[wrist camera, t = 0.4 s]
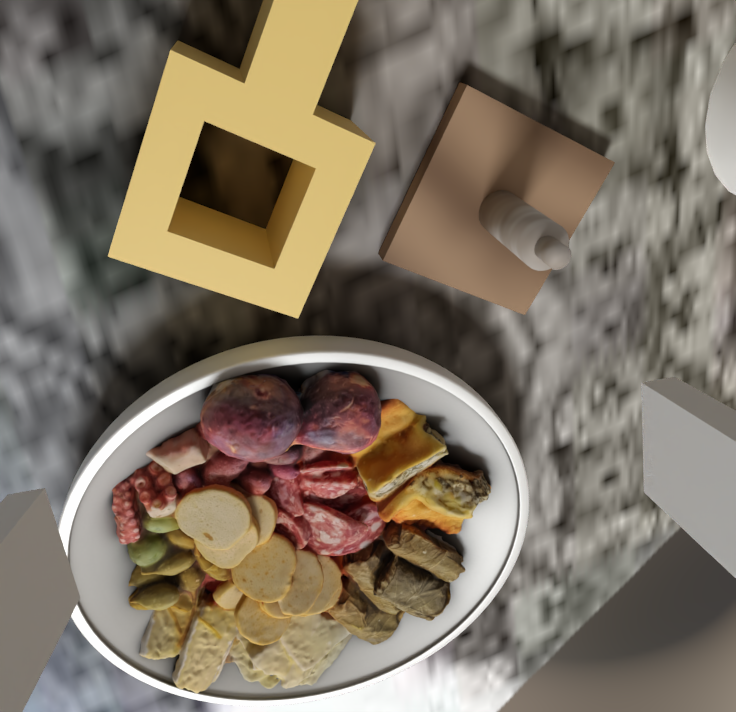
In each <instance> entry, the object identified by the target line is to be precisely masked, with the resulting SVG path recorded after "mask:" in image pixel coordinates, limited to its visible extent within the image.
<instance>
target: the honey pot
mask: <svg viewBox="0 0 736 712" xmlns="http://www.w3.org/2000/svg"><path fill="white" fill-rule="evenodd" d="M705 129H706V145H707V154H708V156H709V159H710V162H711V165H712V167H713V170H714V173H715V175H716V176H717V178H718V179H719V180H720V181H721V182H722V184H723V185H724V186H725V187H726V188H727V190H728V191H729V192H731V193H733V194H735V195H736V42H735V44H734V45H733V47H732V48H731V50H730V52H729V53H728V55H727V56H726V58H725V60H724V61H723V63H722V66H721V68H720V71H719V74H718V76H717V79H716V81H715V84H714V86H713V89H712V92H711V94H710V100H709V106H708V112H707V117H706V123H705Z"/></svg>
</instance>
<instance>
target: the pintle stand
mask: <svg viewBox="0 0 736 712" xmlns="http://www.w3.org/2000/svg"><path fill="white" fill-rule="evenodd" d="M614 163H615V162H613V161H611V160H609V159H607V158H605V157H603V156H601V155H599V154H598V153H596V152H594V151H592V150H590V149H588V148H586V147H584V146H582V145H580V144H579V143H577V142H575V141H573V140H571V139H569V138H567V137H565V136H563V135H561V134H560V133H558V132H556V131H554V130H552V129H550V128H548V127H546V126H544V125H542V124H541V123H539V122H537V121H535V120H533V119H531V118H529V117H527V116H525V115H523V114H521V113H520V112H518V111H516V110H514V109H512V108H510V107H508V106H506V105H504V104H502V103H501V102H499V101H497V100H495V99H493V98H491V97H489V96H487V95H485V94H483V93H482V92H480V91H478V90H476V89H474V88H472V87H470V86H468V85H466V84H463V83H460V82H459V84H458V86H457V89H456V91H455V93H454V95H453V97H452V99H451V101H450V103H449V105H448V108H447V110H446V112H445V114H444V116H443V118H442V120H441V122H440V124H439V126H438V129H437V131H436V133H435V135H434V137H433V139H432V141H431V143H430V145H429V148H428V150H427V152H426V154H425V156H424V158H423V160H422V162H421V164H420V166H419V169H418V171H417V173H416V175H415V177H414V179H413V181H412V183H411V185H410V188H409V190H408V192H407V194H406V196H405V198H404V200H403V202H402V204H401V207H400V209H399V211H398V213H397V215H396V217H395V219H394V221H393V223H392V225H391V228H390V230H389V232H388V234H387V236H386V238H385V240H384V242H383V244H382V247H381V249H380V251H379V253H378V254H379V255H380V257H381V258H382V260H383V261H385V262H388V263H390V264H393V265H396V266H398V267H401V268H403V269H406V270H409V271H411V272H414V273H417V274H419V275H422V276H424V277H427V278H430V279H432V280H435V281H437V282H440V283H443V284H445V285H448V286H450V287H453V288H456V289H458V290H461V291H464V292H466V293H469V294H471V295H474V296H477V297H479V298H482V299H484V300H487V301H490V302H492V303H495V304H498V305H500V306H503V307H505V308H508V309H511V310H513V311H516V312H518V313H521V314H524V315H525V314H526V312H527V311H528V309H529V307H530V305H531V304H532V302H533V300H534V299H535V297H536V295H537V294H538V292H539V290H540V289H541V287H542V285H543V283H544V282H545V280H546V278H547V277H548V275H549V273H550V272H551V270H552V269H554V270H559V269H562V268H564V267H565V266H566V265H567V264H568V263H569V261H570V259H571V251H570V249H569V240H570V238H571V236H572V234H573V233H574V231H575V229H576V228H577V226H578V224H579V223H580V221H581V219H582V218H583V216H584V214H585V212H586V211H587V209H588V207H589V206H590V204H591V202H592V201H593V199H594V197H595V196H596V194H597V192H598V190H599V189H600V187H601V185H602V184H603V182H604V180H605V179H606V177H607V175H608V174H609V172H610V170H611V168H612V167H613V165H614Z"/></svg>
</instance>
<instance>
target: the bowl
mask: <svg viewBox="0 0 736 712" xmlns="http://www.w3.org/2000/svg"><path fill="white" fill-rule="evenodd" d="M529 503H530V502H529V486H528V479H527V474H526V469H525V466H524V463H523V459H522V457H521V454H520V452H519V449H518V447H517V445H516V443H515V441H514V439H513V438H512V436H511V434H510V433H509V431H508V430H507V428H506V427H505V425H504V424H503V422H502V421H501V419H500V418H499V417H498V415H497V414H496V413H495V411H494V410H493V409H492V408H491V407H490V405H489V404H488V403H487V402H486V401H485V400H484V399H483V398H482V397H481V396H480V395H479V394H478V393H477V392H476V391H475V390H474V389H473V388H471V387H470V386H469V385H468V384H467V383H465V382H464V381H463V380H462V379H460V378H459V377H457V376H456V375H454V374H453V373H451V372H450V371H448V370H447V369H445V368H443V367H442V366H440V365H438V364H436V363H435V362H432V361H430V360H428V359H426V358H424V357H422V356H420V355H417V354H415V353H412V352H410V351H407V350H404V349H401V348H398V347H395V346H392V345H388V344H384V343H380V342H376V341H371V340H365V339H359V338H351V337H342V336H295V337H286V338H278V339H272V340H266V341H261V342H256V343H252V344H248V345H244V346H240V347H237V348H234V349H230V350H227V351H224V352H222V353H219V354H216V355H213V356H211V357H208V358H206V359H204V360H201V361H199V362H197V363H195V364H193V365H191V366H189V367H187V368H185V369H183V370H181V371H179V372H177V373H175V374H174V375H172V376H170V377H168V378H167V379H165V380H163V381H162V382H160V383H159V384H157V385H156V386H154V387H153V388H151V389H150V390H149V391H147V392H146V393H145V394H143V395H142V396H141V397H140V398H138V399H137V400H136V401H135V402H134V403H132V404H131V405H130V406H129V407H128V408H127V409H126V410H124V411H123V412H122V413H121V414H120V415H119V416H118V417H117V418H116V419H115V420H114V421H113V422H112V423H111V425H110V426H109V427H108V428H107V429H106V430H105V432H104V433H103V434H102V435H101V436H100V438H99V439H98V440H97V442H96V443H95V444H94V446H93V447H92V448H91V450H90V451H89V453H88V454H87V456H86V458H85V459H84V461H83V462H82V464H81V466H80V468H79V470H78V472H77V474H76V476H75V477H74V479H73V482H72V484H71V487H70V489H69V491H68V494H67V497H66V500H65V503H64V506H63V509H62V513H61V516H60V520H59V524H58V530H59V533H60V536H61V539H62V542H63V546H64V549H65V552H66V555H67V558H68V561H69V564H70V567H71V570H72V573H73V576H74V579H75V582H76V585H77V588H78V592H79V595H80V599H79V601H78V603H77V605H76V607H75V609H74V611H73V613H72V615H71V618H72V619H73V621H74V623H75V624H76V626H77V627H78V629H79V630H80V631H81V633H82V634H83V635H84V637H85V638H86V639H87V640H88V641H89V642H90V644H91V645H92V646H93V647H94V648H95V649H96V650H97V651H98V652H99V653H101V654H102V655H103V656H104V657H105V658H106V659H108V660H109V661H110V662H112V663H113V664H114V665H116V666H117V667H118V668H120V669H121V670H123V671H125V672H126V673H128V674H129V675H131V676H133V677H135V678H137V679H139V680H140V681H143V682H145V683H147V684H149V685H151V686H153V687H156V688H158V689H161V690H164V691H167V692H169V693H172V694H176V695H179V696H183V697H186V698H190V699H195V700H199V701H205V702H210V703H218V704H226V705H238V706H275V705H287V704H296V703H304V702H310V701H316V700H321V699H325V698H330V697H334V696H338V695H342V694H345V693H349V692H352V691H355V690H358V689H361V688H364V687H367V686H370V685H372V684H375V683H378V682H380V681H383V680H385V679H387V678H390V677H392V676H394V675H396V674H398V673H400V672H402V671H404V670H406V669H408V668H410V667H412V666H414V665H415V664H417V663H419V662H421V661H422V660H424V659H426V658H427V657H429V656H430V655H432V654H433V653H435V652H436V651H438V650H439V649H441V648H442V647H443V646H445V645H446V644H448V643H449V642H450V641H451V640H453V639H454V638H455V637H456V636H458V635H459V634H460V633H461V632H462V631H463V630H465V629H466V628H467V627H468V626H469V625H470V624H471V623H472V622H473V621H474V620H475V619H476V618H477V617H478V616H479V615H480V614H481V613H482V612H483V610H484V609H485V608H486V607H487V606H488V605H489V604H490V602H491V601H492V600H493V598H494V597H495V596H496V594H497V593H498V592H499V590H500V589H501V587H502V586H503V584H504V583H505V581H506V579H507V578H508V576H509V574H510V572H511V570H512V568H513V567H514V564H515V562H516V560H517V558H518V555H519V553H520V550H521V547H522V544H523V541H524V538H525V534H526V529H527V524H528V517H529Z"/></svg>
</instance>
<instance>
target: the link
mask: <svg viewBox="0 0 736 712" xmlns="http://www.w3.org/2000/svg"><path fill="white" fill-rule="evenodd" d="M357 2H358V0H263V2H262V5H261V8H260V11H259V14H258V17H257V20H256V22H255V25H254V28H253V31H252V34H251V37H250V40H249V43H248V46H247V48H246V51H245V54H244V57H243V60H242V63H241V66H240V69H239V68H237V67H234V66H232V65H230V64H228V63H226V62H224V61H221V60H219V59H217V58H215V57H213V56H211V55H209V54H206V53H204V52H202V51H200V50H198V49H196V48H193V47H191V46H189V45H187V44H185V43H183V42H180V41H178V40H177V42H176V43H175V44H174V46H173V47H172V48H171V50H170V53H169V56H168V59H167V63H166V66H165V69H164V72H163V76H162V79H161V82H160V86H159V89H158V92H157V96H156V99H155V102H154V105H153V109H152V112H151V115H150V119H149V122H148V125H147V128H146V132H145V135H144V138H143V142H142V145H141V148H140V152H139V155H138V158H137V161H136V165H135V168H134V171H133V175H132V178H131V181H130V185H129V188H128V191H127V194H126V198H125V201H124V204H123V208H122V211H121V214H120V218H119V221H118V224H117V227H116V231H115V234H114V237H113V241H112V244H111V247H110V250H109V254H108V257H111V258H114V259H117V260H120V261H123V262H126V263H129V264H132V265H135V266H138V267H141V268H144V269H148V270H151V271H154V272H157V273H160V274H163V275H166V276H169V277H172V278H175V279H178V280H181V281H184V282H187V283H190V284H193V285H196V286H200V287H203V288H206V289H209V290H212V291H215V292H218V293H221V294H224V295H227V296H230V297H233V298H236V299H239V300H242V301H245V302H249V303H252V304H255V305H258V306H261V307H264V308H267V309H270V310H273V311H276V312H279V313H282V314H285V315H288V316H291V317H294V318H297V319H298V318H299V315H300V313H301V311H302V309H303V306H304V304H305V302H306V300H307V297H308V295H309V293H310V291H311V288H312V286H313V284H314V282H315V279H316V277H317V275H318V272H319V270H320V268H321V266H322V263H323V261H324V259H325V257H326V254H327V252H328V250H329V248H330V245H331V243H332V241H333V239H334V236H335V234H336V232H337V229H338V227H339V225H340V223H341V220H342V218H343V216H344V214H345V211H346V209H347V207H348V205H349V202H350V200H351V198H352V196H353V193H354V191H355V189H356V187H357V184H358V182H359V180H360V177H361V175H362V173H363V171H364V168H365V166H366V164H367V162H368V159H369V157H370V155H371V153H372V150H373V148H374V146H375V144H376V143H375V142H373V141H372V140H371V139H370V138H369V137H368V136H367V135H366V134H365V133H364V132H363V131H362V130H360V129H359V128H358V127H357V126H356V125H355V124H354V123H353V122H352V121H351V120H349V119H346V118H344V117H342V116H340V115H338V114H336V113H334V112H331V111H329V110H327V109H325V108H323V107H321V106H318V105H317V103H318V100H319V98H320V95H321V93H322V90H323V88H324V85H325V83H326V80H327V78H328V75H329V73H330V70H331V68H332V65H333V63H334V60H335V58H336V55H337V52H338V50H339V47H340V45H341V42H342V40H343V37H344V35H345V32H346V30H347V27H348V25H349V22H350V20H351V17H352V15H353V12H354V10H355V7H356V5H357ZM204 121H205V122H208V123H210V124H212V125H215V126H217V127H219V128H222V129H224V130H226V131H229V132H231V133H233V134H236V135H238V136H241V137H243V138H245V139H248V140H250V141H252V142H255V143H257V144H259V145H262V146H264V147H266V148H269V149H271V150H274V151H276V152H278V153H281V154H283V155H285V156H288V157H290V158H292V159H293V161H292V164H291V167H290V169H289V172H288V174H287V177H286V179H285V182H284V184H283V187H282V189H281V192H280V194H279V197H278V199H277V202H276V204H275V207H274V209H273V212H272V214H271V217H270V219H269V222H268V224H267V227H266V229H264V228H261V227H259V226H256V225H253V224H251V223H248V222H245V221H243V220H240V219H237V218H235V217H232V216H229V215H227V214H224V213H221V212H219V211H216V210H213V209H211V208H208V207H205V206H203V205H200V204H197V203H195V202H192V201H189V200H187V199H184V198H181V197H179V195H180V192H181V189H182V186H183V183H184V180H185V177H186V174H187V171H188V168H189V165H190V162H191V159H192V156H193V153H194V150H195V147H196V144H197V141H198V138H199V135H200V132H201V129H202V126H203V123H204Z"/></svg>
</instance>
